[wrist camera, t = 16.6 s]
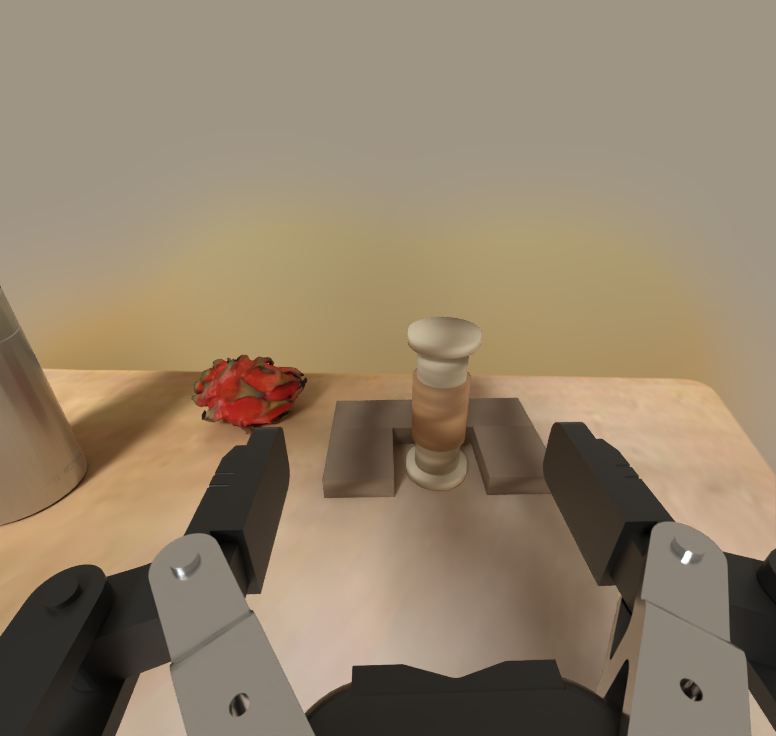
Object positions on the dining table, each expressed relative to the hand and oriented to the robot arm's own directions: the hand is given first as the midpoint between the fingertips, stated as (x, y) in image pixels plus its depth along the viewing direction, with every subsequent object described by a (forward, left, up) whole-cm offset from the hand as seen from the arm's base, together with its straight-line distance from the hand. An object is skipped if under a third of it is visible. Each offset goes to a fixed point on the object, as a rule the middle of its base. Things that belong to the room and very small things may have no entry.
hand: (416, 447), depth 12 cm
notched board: (+4, +21, -18) cm, 28 cm away
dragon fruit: (-15, +27, -18) cm, 36 cm away
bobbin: (+4, +19, -18) cm, 26 cm away
